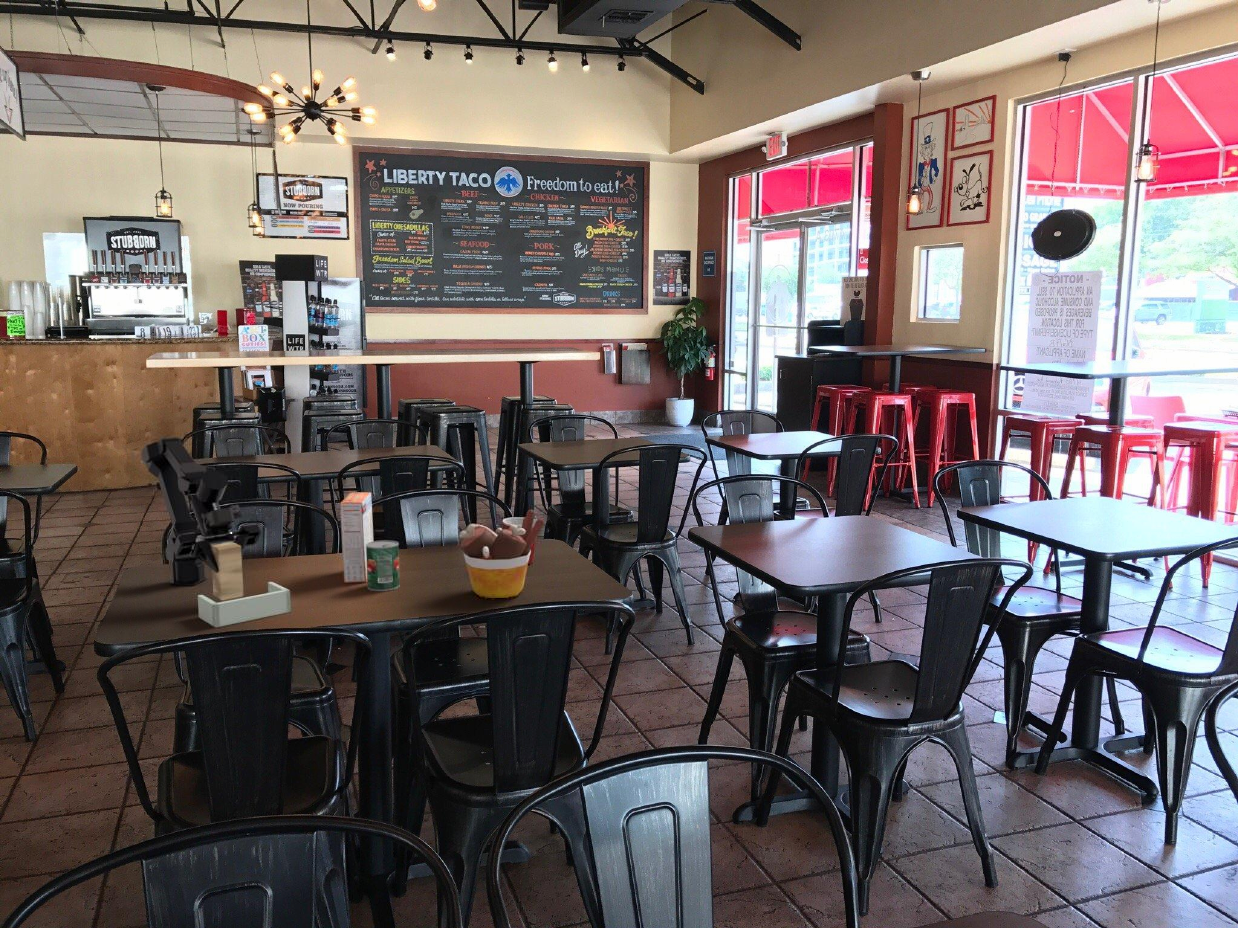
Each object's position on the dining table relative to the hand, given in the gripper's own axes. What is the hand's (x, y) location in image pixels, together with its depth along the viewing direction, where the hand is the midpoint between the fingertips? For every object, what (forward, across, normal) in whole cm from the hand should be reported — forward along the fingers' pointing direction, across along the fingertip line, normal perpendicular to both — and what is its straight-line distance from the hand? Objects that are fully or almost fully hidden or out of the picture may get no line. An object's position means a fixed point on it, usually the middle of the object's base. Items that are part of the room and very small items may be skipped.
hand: (229, 569), depth 224 cm
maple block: (+4, 0, +6) cm, 7 cm away
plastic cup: (+15, +74, -3) cm, 76 cm away
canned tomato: (+12, +34, 0) cm, 37 cm away
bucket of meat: (+29, +53, -17) cm, 63 cm away
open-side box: (+12, 0, 0) cm, 12 cm away
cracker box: (+3, +35, +10) cm, 36 cm away
